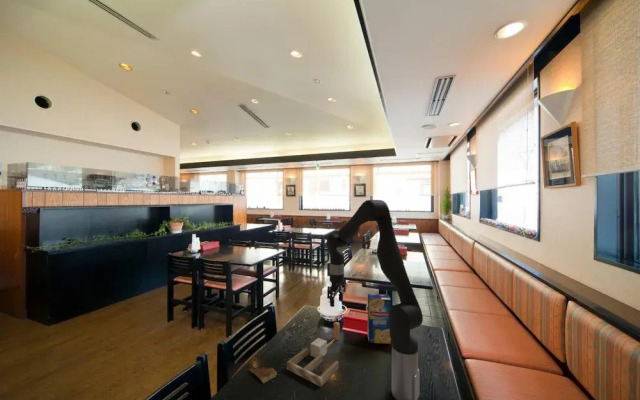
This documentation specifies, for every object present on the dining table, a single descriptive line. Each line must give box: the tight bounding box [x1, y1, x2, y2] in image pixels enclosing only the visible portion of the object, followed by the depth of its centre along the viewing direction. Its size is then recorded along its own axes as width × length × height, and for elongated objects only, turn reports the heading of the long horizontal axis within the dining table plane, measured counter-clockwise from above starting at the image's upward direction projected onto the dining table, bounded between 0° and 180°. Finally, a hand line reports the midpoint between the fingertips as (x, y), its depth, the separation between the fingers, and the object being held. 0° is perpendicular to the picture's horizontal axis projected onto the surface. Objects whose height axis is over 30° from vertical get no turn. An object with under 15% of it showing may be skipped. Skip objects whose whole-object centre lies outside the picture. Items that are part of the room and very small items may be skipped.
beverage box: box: [367, 293, 392, 345], centre depth 130 cm, size 7×11×22 cm, turn 85°
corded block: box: [310, 321, 341, 359], centre depth 123 cm, size 5×20×8 cm, turn 145°
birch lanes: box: [286, 347, 340, 388], centre depth 106 cm, size 18×13×3 cm
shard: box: [248, 367, 277, 384], centre depth 104 cm, size 11×8×2 cm
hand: (336, 303), depth 130 cm, fingers open, 8 cm apart
